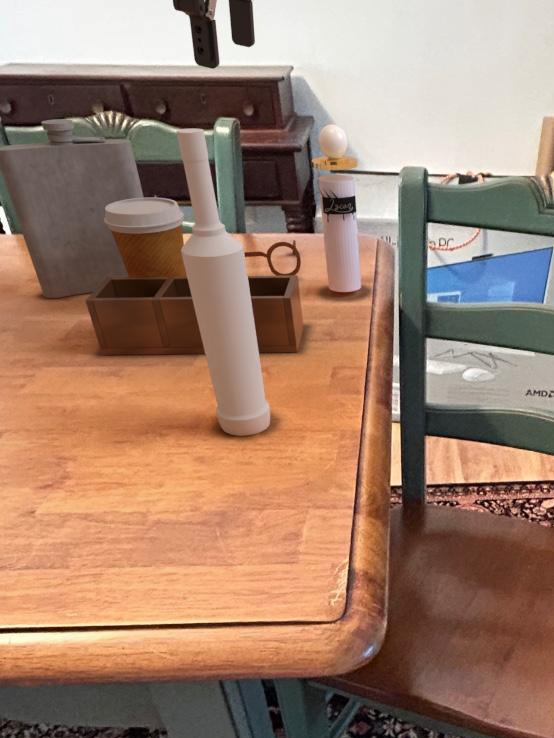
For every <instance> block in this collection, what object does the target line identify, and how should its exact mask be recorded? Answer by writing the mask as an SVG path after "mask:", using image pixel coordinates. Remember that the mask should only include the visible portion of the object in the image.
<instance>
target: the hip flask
mask: <svg viewBox="0 0 554 738" xmlns="http://www.w3.org/2000/svg"><path fill="white" fill-rule="evenodd" d="M73 121H74V120H72V119H68V118H67V119H66V118H57V119H46V120H43V121H41V122H40V123H41V126H42V130H43V131H45V132H46V131H47V133H46V135H47V140H48V141H49V142H47V141H46V142H34V143H21V144H10V145H8V144H7V145H1V146H0V173H1V175H2V178H3V179H2V180H3V182H4V184H5V188H6V190H7V194H8V196H9V198H10V199H9V200H10V201H11V205H12V207H13V210H14V213H15V216H16V219H17V222H18V226H19V228H20V231H21V234H22V237H23V240H24V242H25V245H26V248H27V251H28V255H29V257H30V260H31V263H32V266H33V268H34V272H35V274H36V277H37V280H38V283H39V286H40V289H41V292H42V294H43V297H44V298H46V299H60V298H65V297H70V296H76V295H82V294H83V295H84V294H92V293H93V292H94V290H95V289H96V288H97V287H98V286H99V285H100V284H101V283H102V282H103V281H104V280H105V279H106V277H129V275H128V272H127V270H126V267H125V264H124V262H123V260H122V257H121V254H120V252H119V249H118V247H117V244H116V242H115V239H114V237H113V234H112V232H111V230H110V229H109V228H108V225H107V224H106V223H105V222H104V218H105V217H106V215H105V207H106V206H107V205H109V204H111V203H114V202H117V201H121V200H126V199H134V198H145V197H144V192H143V189H142V184H141V180H140V176H139V172H138V168H137V163H136V159H135V155H134V151H133V147H132V143H131V140H130V139H127V138H109V139H108V138H107V139H106V137H104V136H103V137H102V136H101V137H99V136H98V137H97V136H76V133H74V132H73V130H74V129H75V124H74V122H73Z"/></svg>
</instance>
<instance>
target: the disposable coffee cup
mask: <svg viewBox="0 0 554 738" xmlns="http://www.w3.org/2000/svg"><path fill="white" fill-rule="evenodd" d="M105 215H106V217H105V218H104V222H105V223H106V224H107V225H108V228H109V229H110V230H111V232H112V234H113V237H114V239H115V242H116V244H117V247H118V249H119V252H120V254H121V257H122V260H123V262H124V264H125V267H126V270H127V272H128V275H129V277H177V276H187V274H186V270H185V266H184V262H183V257H182V253H181V249H182V247H183V246H184V244H185V243H184V233H183V223H184V217H185V215H184V212H183V211H181V208H180V206H179V204H178V201H176V200H173V199H171V198H166V197H151V196H150V197H144V198H134V199H126V200H121V201H117V202H114V203H111V204H109V205H107V206H106V207H105Z"/></svg>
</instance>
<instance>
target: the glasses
mask: <svg viewBox="0 0 554 738" xmlns="http://www.w3.org/2000/svg"><path fill="white" fill-rule="evenodd" d="M279 247H287V248H288V249H290V250H292V255H295V258H296V265H295V267H294V269H293V270H292V271H291V272H288V273H281V272H279V271H278V270H276V268H275V267H274V265H273V261H272V253H273V252H274V251H275V249H277V248H279ZM244 254H245V258H253V257H254V258H255V257H263V258H266V261H267V264H268V267H269V270H270V272H271V273H272V274H273V275H274V276H285V275H290V276H291V275H297V274H299V271H300V269H301V265H302V261H301V255H300V252H299V251H298V248H297V243H296V239H295V240H294V239H293V240H292V243H290V242H287V241H278V242H275V243H273V244H271V246H270V247H269V248H268V249H267V251H266V253H265V252H263V251H244Z"/></svg>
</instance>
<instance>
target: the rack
mask: <svg viewBox="0 0 554 738" xmlns="http://www.w3.org/2000/svg"><path fill="white" fill-rule="evenodd" d="M248 282H249V289H250V296H251V302H252V309H253V316H254V323H255V330H256V337H257V344H258V351H259V354H260V353H261V354H262V353H263V354H267V353H268V354H269V353H273V354H274V353H298V351H299V347H300V343H301V339H302V335H303V331H304V328H305V327H304V318H303V311H302V302H301V294H300V287H299V285H300V284H299V277H298V275H297V274H296V275H291V276H290V275H285V276H276V275H248ZM85 304H86V307H87V310H88V314H89V317H90V321H91V324H92V327H93V330H94V332H95V336H96V339H97V342H98V345H99V349H100V352H101V355H102V356H129V355H135V356H136V355H137V356H138V355H139V356H140V355H195V354H196V355H197V354H199V355H201V354H203V355H206V354H205V350H204V346H203V342H202V338H201V333H200V329H199V325H198V321H197V316H196V312H195V308H194V304H193V300H192V295H191V291H190V287H189V283H188V278H187V276H177V277H106V279H105V280H104V281H103V282H102V283H101V284H100V285H99V286H98V287H97V288H96V289H95V290H94V292H91V293H90V295H88V297H87V298H86V299H85Z"/></svg>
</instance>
